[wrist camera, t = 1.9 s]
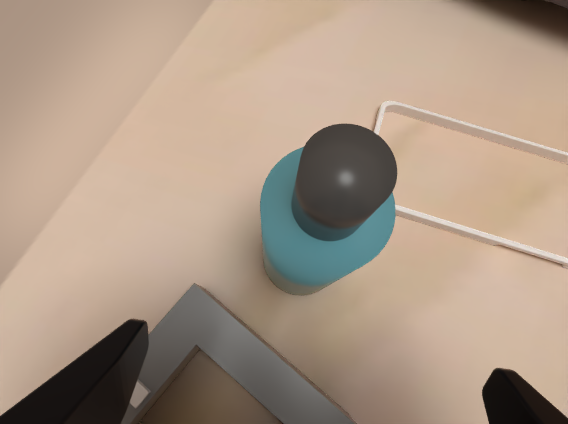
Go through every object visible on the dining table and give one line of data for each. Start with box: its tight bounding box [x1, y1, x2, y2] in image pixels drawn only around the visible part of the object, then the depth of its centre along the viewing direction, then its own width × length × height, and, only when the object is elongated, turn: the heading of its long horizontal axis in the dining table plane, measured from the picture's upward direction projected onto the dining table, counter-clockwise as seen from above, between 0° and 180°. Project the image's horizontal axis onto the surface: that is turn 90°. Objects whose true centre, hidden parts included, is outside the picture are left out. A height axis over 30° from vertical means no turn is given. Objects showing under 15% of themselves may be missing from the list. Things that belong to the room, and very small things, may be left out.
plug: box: [260, 124, 397, 295], centre depth 15 cm, size 4×4×13 cm
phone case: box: [374, 101, 568, 269], centre depth 23 cm, size 7×1×15 cm
